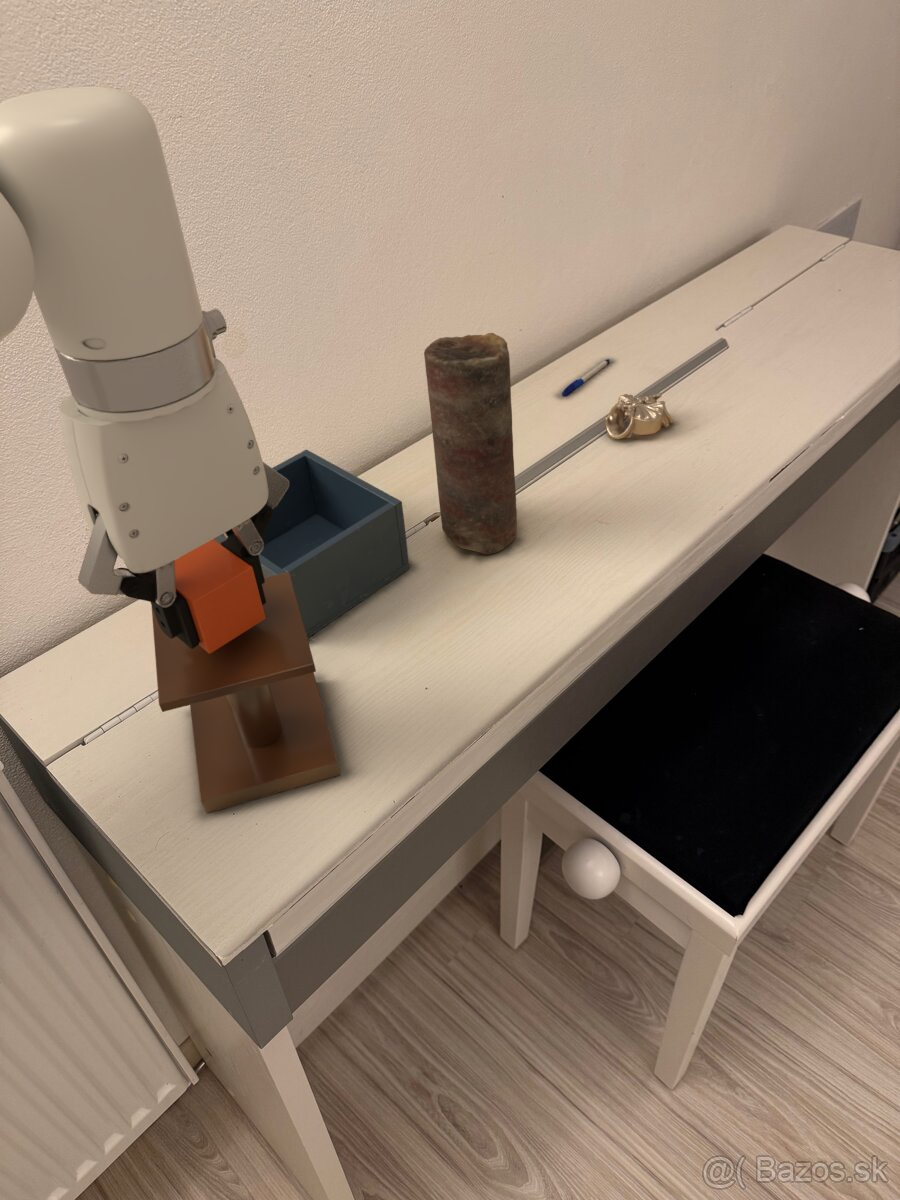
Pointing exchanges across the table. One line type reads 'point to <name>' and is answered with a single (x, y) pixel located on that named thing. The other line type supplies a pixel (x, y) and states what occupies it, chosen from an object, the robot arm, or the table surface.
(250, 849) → the table surface
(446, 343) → the brown textured cylinder
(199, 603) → the orange block
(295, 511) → the blue open crate
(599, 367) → the ballpoint pen
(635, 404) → the ornament
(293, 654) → the serving stand
